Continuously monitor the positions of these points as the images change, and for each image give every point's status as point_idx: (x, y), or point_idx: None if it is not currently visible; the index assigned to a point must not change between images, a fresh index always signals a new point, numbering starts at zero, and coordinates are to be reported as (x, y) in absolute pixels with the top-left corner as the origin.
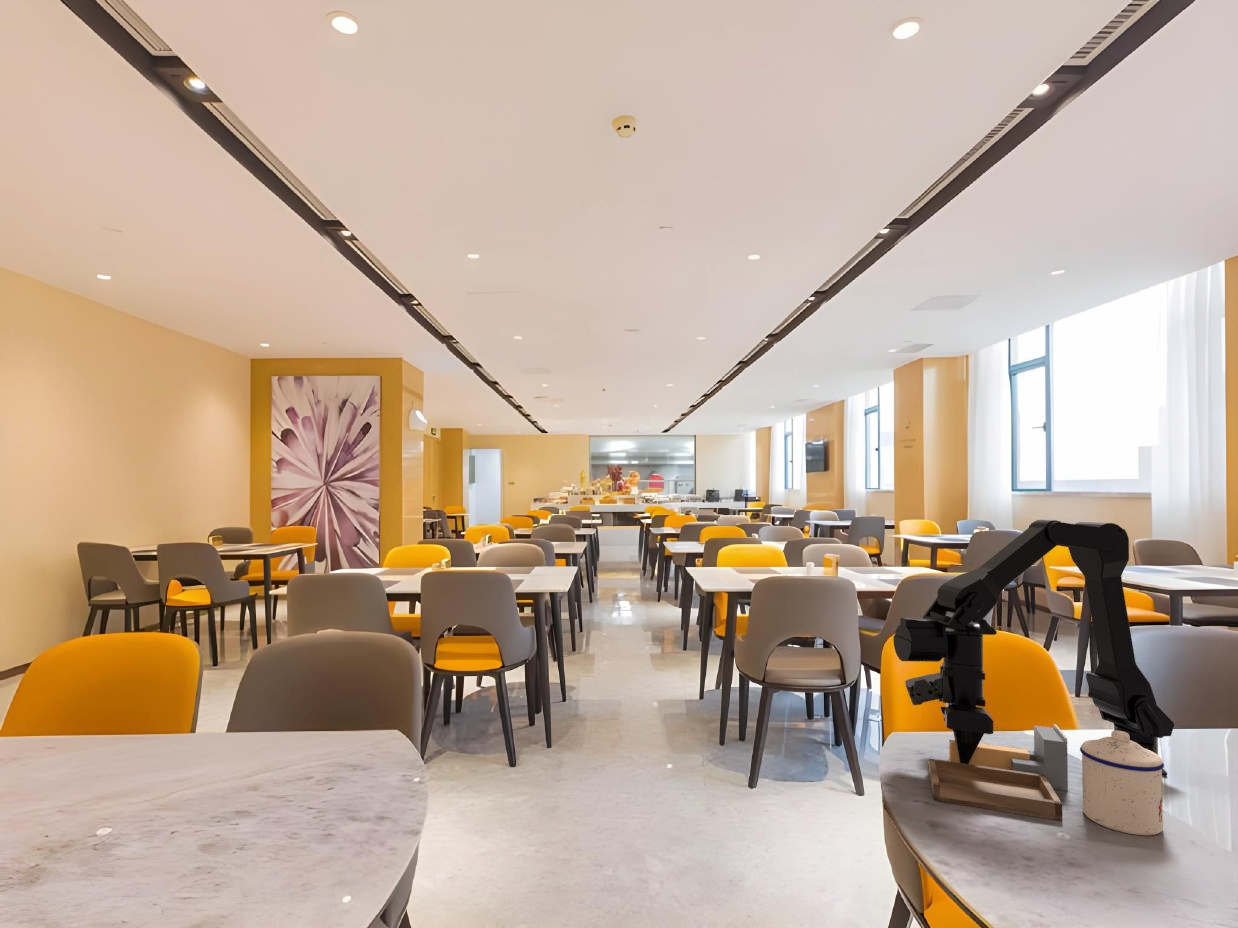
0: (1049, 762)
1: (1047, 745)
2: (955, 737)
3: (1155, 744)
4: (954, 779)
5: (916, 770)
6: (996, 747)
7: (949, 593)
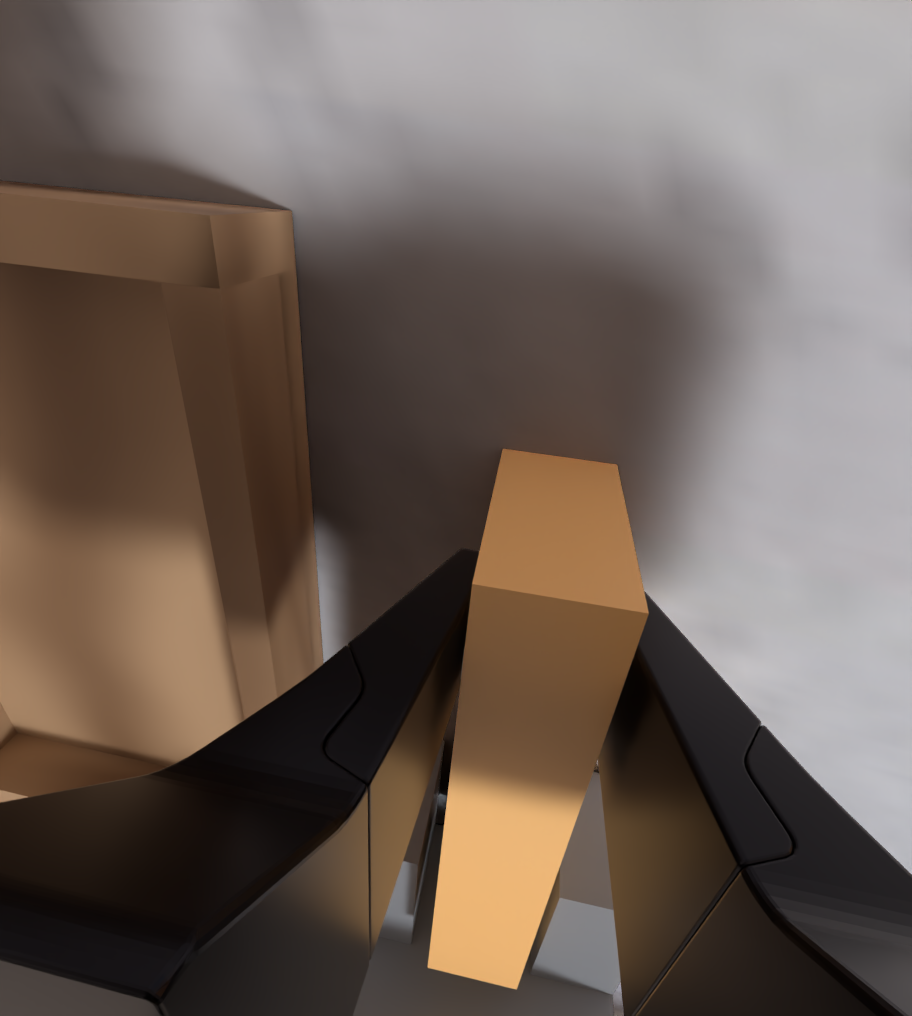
0: None
1: None
2: (367, 695)
3: None
4: (142, 408)
5: (306, 66)
6: (496, 882)
7: None
